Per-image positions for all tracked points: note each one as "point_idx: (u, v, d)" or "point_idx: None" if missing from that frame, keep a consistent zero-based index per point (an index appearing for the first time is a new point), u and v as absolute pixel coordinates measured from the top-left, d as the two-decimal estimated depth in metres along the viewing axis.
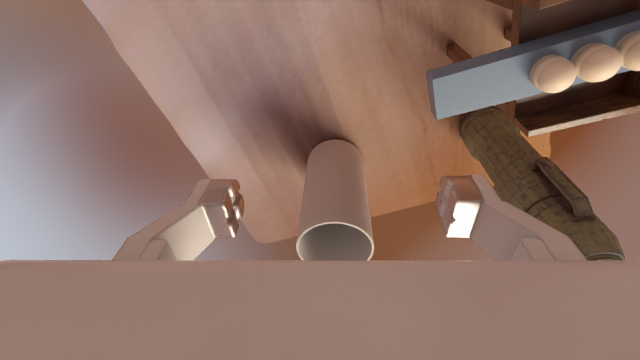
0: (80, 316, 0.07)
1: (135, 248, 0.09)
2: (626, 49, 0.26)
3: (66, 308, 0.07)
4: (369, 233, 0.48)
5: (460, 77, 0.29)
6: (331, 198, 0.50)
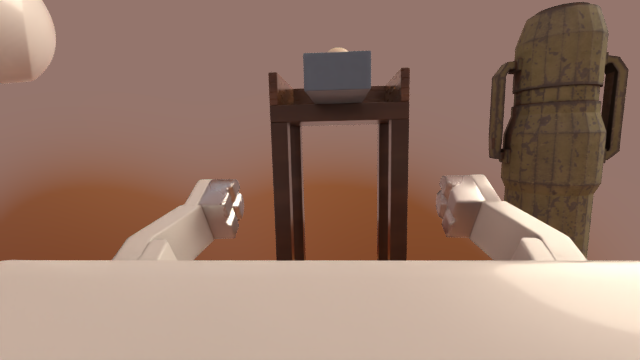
0: (80, 316, 0.07)
1: (135, 248, 0.09)
2: None
3: (66, 308, 0.07)
4: None
5: None
6: None
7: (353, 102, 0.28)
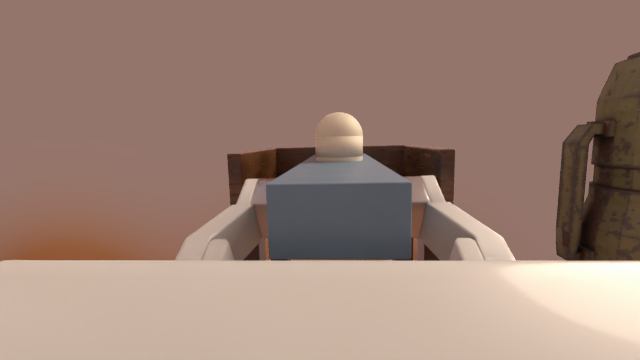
0: (81, 316, 0.07)
1: (196, 248, 0.09)
2: None
3: (66, 308, 0.07)
4: None
5: (295, 174, 0.12)
6: None
7: None
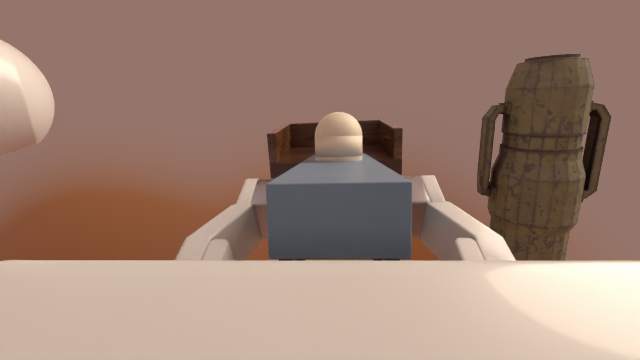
0: (80, 316, 0.07)
1: (196, 248, 0.09)
2: None
3: (66, 308, 0.07)
4: None
5: (295, 174, 0.12)
6: None
7: None
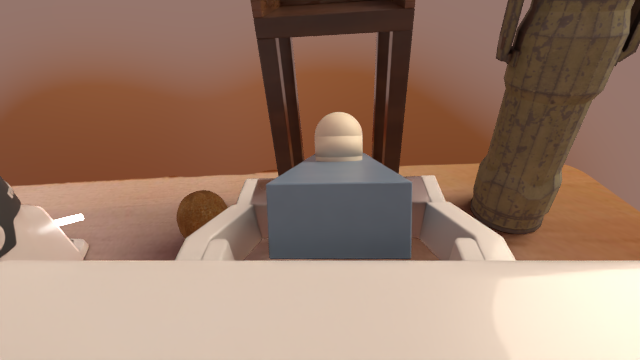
0: (80, 316, 0.07)
1: (196, 248, 0.09)
2: None
3: (66, 308, 0.07)
4: None
5: (295, 173, 0.12)
6: None
7: None
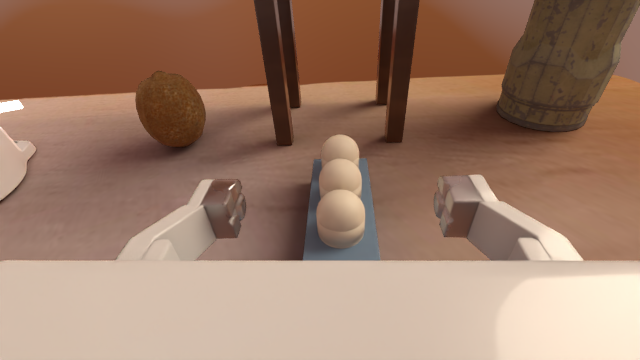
0: (80, 316, 0.07)
1: (138, 248, 0.09)
2: None
3: (66, 308, 0.07)
4: None
5: None
6: None
7: None
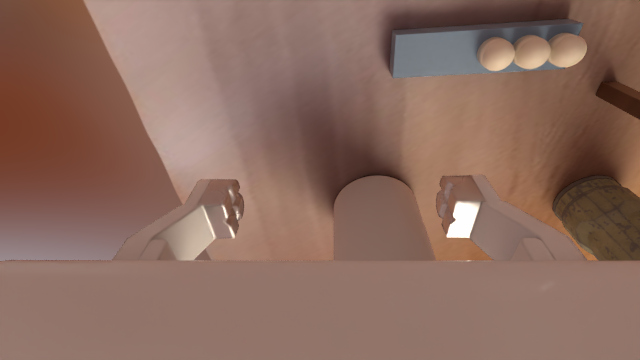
0: (80, 317, 0.07)
1: (135, 248, 0.09)
2: (554, 45, 0.30)
3: (66, 309, 0.07)
4: None
5: (420, 39, 0.31)
6: None
7: None
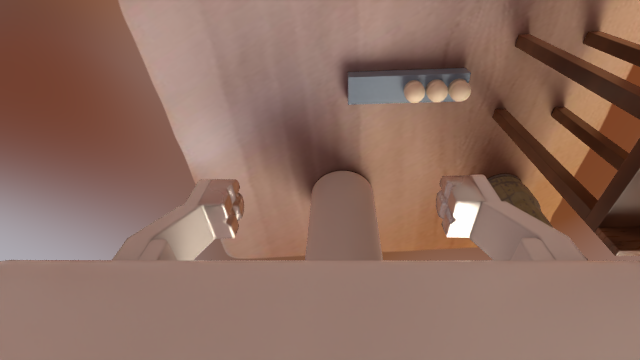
0: (80, 316, 0.07)
1: (135, 248, 0.09)
2: (451, 87, 0.45)
3: (66, 308, 0.07)
4: None
5: (364, 80, 0.47)
6: (352, 249, 0.44)
7: None
